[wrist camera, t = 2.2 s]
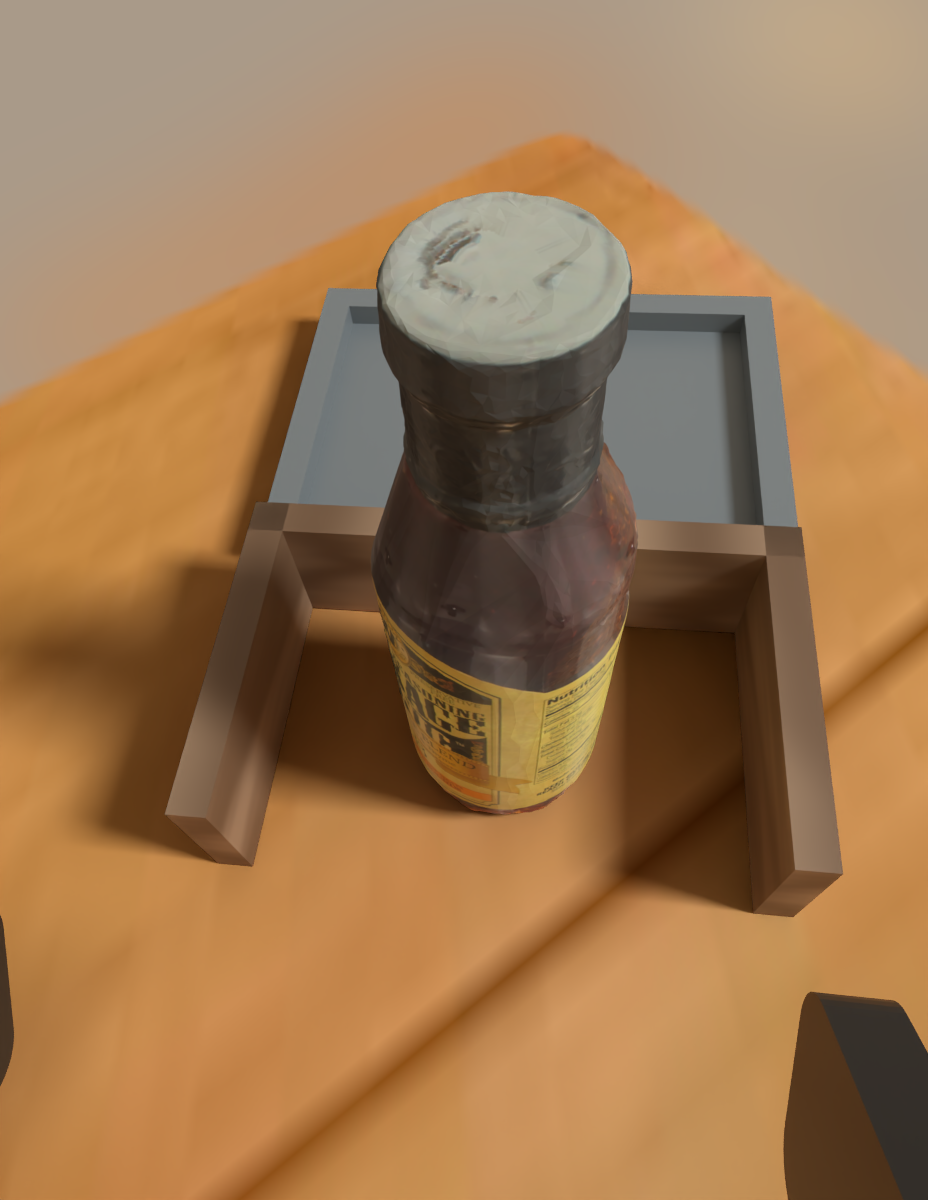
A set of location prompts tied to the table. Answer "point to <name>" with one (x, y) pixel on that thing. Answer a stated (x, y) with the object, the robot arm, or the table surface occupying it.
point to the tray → (631, 415)
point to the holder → (656, 600)
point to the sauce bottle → (504, 492)
